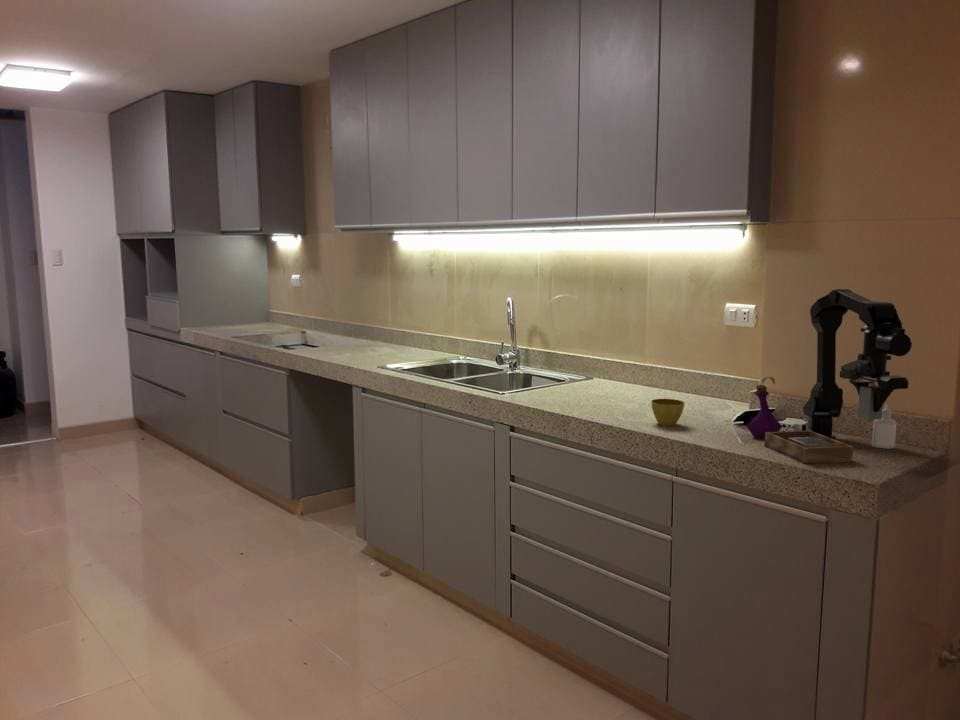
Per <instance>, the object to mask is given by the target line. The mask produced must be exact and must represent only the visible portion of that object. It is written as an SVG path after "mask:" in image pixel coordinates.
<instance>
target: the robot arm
mask: <svg viewBox="0 0 960 720" xmlns="http://www.w3.org/2000/svg"><path fill="white" fill-rule="evenodd" d="M849 311H851V312H853V313H855V314H857V315H858V319H859V320H860V321H861V322H862V323H863V324H864V326H863V327H861V328H860V331H861V332H862V333H864V336H863V348H862V353H859V354H858V356H857V360H853V361H850V362H847V363H846V364H843V365H841V366H840V370H839V378H841V379H844V380H846V379H847V380H848V382H849V383H850V384H852V385H853V387H855V389H856V391H857V394H858V396H859V394H860V387H864V386H869V384H870V383H872V384H876V386H870V388H871V389H872V390H873V392H874V401H873V408H874V412H878V411H879V410H880V408H881V407H882V405H884V404H885V402H886V401H887V399H888V397H889V396H891V394H892V393H893V392H894V390H902V389H903V390H906V389H907V390H908V389H909V381H910V380H909V379H908V378H907V377H905V376H901V375H897V374H895V375H891V374H890V373H891V372H890V371H888V370H887V365H888V363H887V362H888V361H891V360H892V356H895V357H903V356H905V355H907V354H908V353H909V352H910V351H911V348H912V346H913V345H912V341H911V338H910V337H909V335H907V334H906V329H905V328H903V326H902V325H903V323H902V321H901V318H900V317H899V314H898V311H897V309H896V307H895V305H894V304H893V303H892V302H887V301H876V300H871V299H869V298H866V297H864V296H862V295H860V294H857V293H855V292H853V291H852V290H850V289H847V288H845V289H844V288H842V289H841V288H835V289H832V290H831V291H830V292H829V293H828V294H825V295H824V296H822V297H820V298H818V299H817V300H816V301H815V302H814V303H813V304H812V305H811V306H810V311H809V314H810V318H811V319H810V320H811V324H812V326H813V328H814V329H815V331H816V333H817V335H816V336H817V338H816V340H817V342H816V343H817V344H816V345H817V346H816V348H817V349H816V350H817V351H816V357H817V358H816V382H815V384H814V385H813V387H812V389H811V390H810V394H809V395H810V397H809V399H808V400H807V401H806V403H805V404H804V405H803V407H802V411H803V415H804V416H808V417H809V418H808V419H809V420H808V421H809V422H808V431H813V432H815V433H818V434H821V435H824V436H826V437H829V438H832V439H837V436H835V435H833V426H834V425H833V424H834V423H833V421H834V420H833V419H834V418H840V416H841V413H842V409H843V406H844V399H843V396H844V395H843V394H844V391H843V388H841V387H839V386H838V384H837V382H836V363H837V361H836V360H837V359H836V355H837V352H836V351H837V349H836V348H837V332H838V330H839V328H840V327H841V326H842V324H843V319H844V318H843V316H845V315H846V313H848V312H849Z"/></svg>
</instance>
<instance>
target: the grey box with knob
mask: <svg viewBox="0 0 960 720" xmlns="http://www.w3.org/2000/svg"><path fill="white" fill-rule="evenodd" d="M876 384H877V383H875V384H872V383H870V384H869V386H864V387H860V394H859V395H858V408H857V417H858V418H861V419H864V420H867V421H870V420H871V421H872V420H873V421H874V420H875V419H882V409H884V408H883V405H884V404H883V405H882V407H881V408H880V410H879V411H878V412H874V408H873V401H874V392H873V390H872V389H871V388H870V386H876Z"/></svg>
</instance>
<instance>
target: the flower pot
mask: <svg viewBox="0 0 960 720" xmlns="http://www.w3.org/2000/svg"><path fill="white" fill-rule="evenodd" d="M651 409H652V411H653V412H652V413H653V415H654V418H655V420H656V422H657V423H658V424H659V425H660V426H663V427H665V426H666V427H672V426H676V425H677V424H678V421H679V420H680V418H681V415H683V412H684V409H685V401H683V400H679V399H675V398H674V399H673V398H655V399H652V400H651Z"/></svg>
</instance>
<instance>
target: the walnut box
mask: <svg viewBox="0 0 960 720" xmlns="http://www.w3.org/2000/svg"><path fill="white" fill-rule="evenodd" d="M795 437H816V438H819V439H821V440H824V441H827V442H829V443H832V444H833V447H812V448H805V447H803V446H801V445H798V444H796V443H793V442H791V441H788V438H795ZM764 447H765V448H767V449H769V448H770V450H771V451H774V450H775V451H774V452H776V451H777V452H776V453H778V452H779V454H781V453H782V454H781V455H783V454H784V456H785V455H787V456H789V457H788V458H790V457H791V458H790V459H792V458H793V459H792V460H794V459H796V460H798V461H797V462H799V461H800V462H799V463H801V462H802V463H801V464H803V463H813V464H823V463H822V462H833V463H850V462H849V461H852V462H853V456H854V446H852V445H850V444H847V443H845V442H842V441H840V440H837V439H835V438H829V437H826V436H824V435H821V434H818V433H815V432H813V431H809V430H795V431H794V430H791V431H789V430H788V431H787V430H786V431H778V432H765V439H764ZM787 456H786V457H787ZM796 460H795V461H796ZM847 461H848V462H847ZM820 462H821V463H820Z"/></svg>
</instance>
